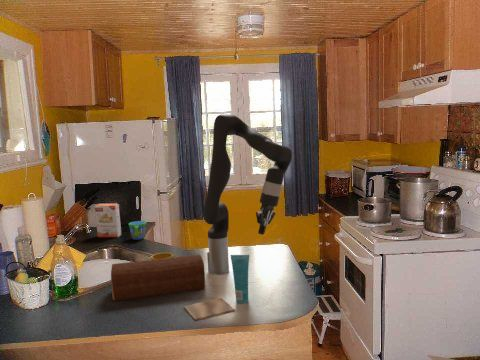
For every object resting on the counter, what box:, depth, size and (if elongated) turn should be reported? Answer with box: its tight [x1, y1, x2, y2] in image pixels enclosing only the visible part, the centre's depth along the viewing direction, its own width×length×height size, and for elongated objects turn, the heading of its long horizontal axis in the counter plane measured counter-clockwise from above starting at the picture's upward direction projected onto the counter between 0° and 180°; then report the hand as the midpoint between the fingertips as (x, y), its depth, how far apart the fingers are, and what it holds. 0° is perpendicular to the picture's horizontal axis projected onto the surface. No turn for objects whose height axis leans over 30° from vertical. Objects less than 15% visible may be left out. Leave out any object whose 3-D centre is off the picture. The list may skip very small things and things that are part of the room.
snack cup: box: [128, 220, 147, 241], centre depth 283 cm, size 16×10×10 cm
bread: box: [110, 254, 207, 302], centre depth 197 cm, size 16×39×13 cm, turn 103°
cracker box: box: [94, 203, 122, 238], centre depth 291 cm, size 14×6×21 cm, turn 81°
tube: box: [230, 254, 250, 304], centre depth 180 cm, size 7×5×19 cm, turn 89°
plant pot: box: [150, 252, 174, 260], centre depth 215 cm, size 10×10×10 cm
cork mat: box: [183, 297, 235, 321], centre depth 175 cm, size 16×13×1 cm
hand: (261, 233), depth 187 cm, fingers closed
